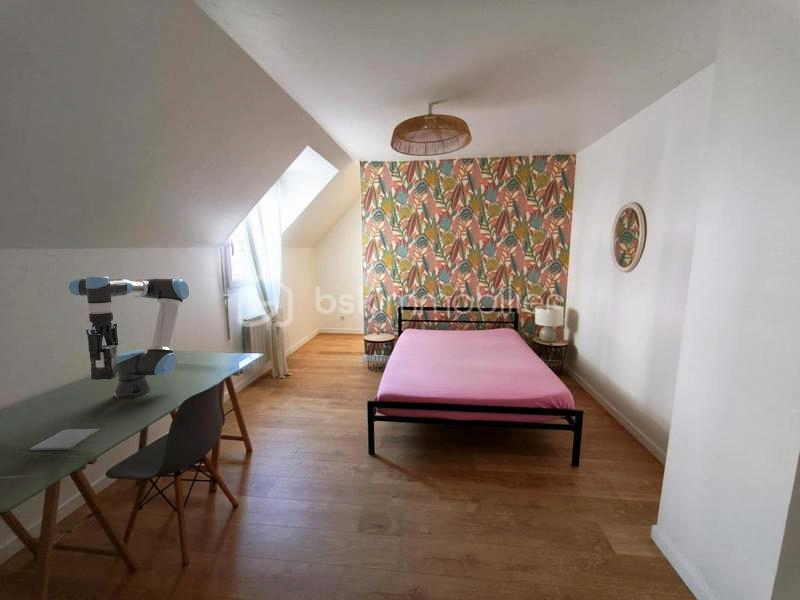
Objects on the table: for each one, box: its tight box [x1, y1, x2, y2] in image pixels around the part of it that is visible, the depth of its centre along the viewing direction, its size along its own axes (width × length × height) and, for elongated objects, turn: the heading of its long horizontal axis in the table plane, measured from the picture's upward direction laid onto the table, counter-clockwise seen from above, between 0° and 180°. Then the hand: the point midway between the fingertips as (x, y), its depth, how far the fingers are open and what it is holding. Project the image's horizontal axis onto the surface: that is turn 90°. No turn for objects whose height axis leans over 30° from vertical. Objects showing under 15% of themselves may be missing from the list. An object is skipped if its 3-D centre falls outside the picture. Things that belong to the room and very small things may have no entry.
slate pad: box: [29, 428, 101, 451], centre depth 132 cm, size 14×14×1 cm
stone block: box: [89, 344, 118, 381], centre depth 143 cm, size 9×14×5 cm
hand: (106, 364), depth 143 cm, fingers closed on stone block, 5 cm apart
